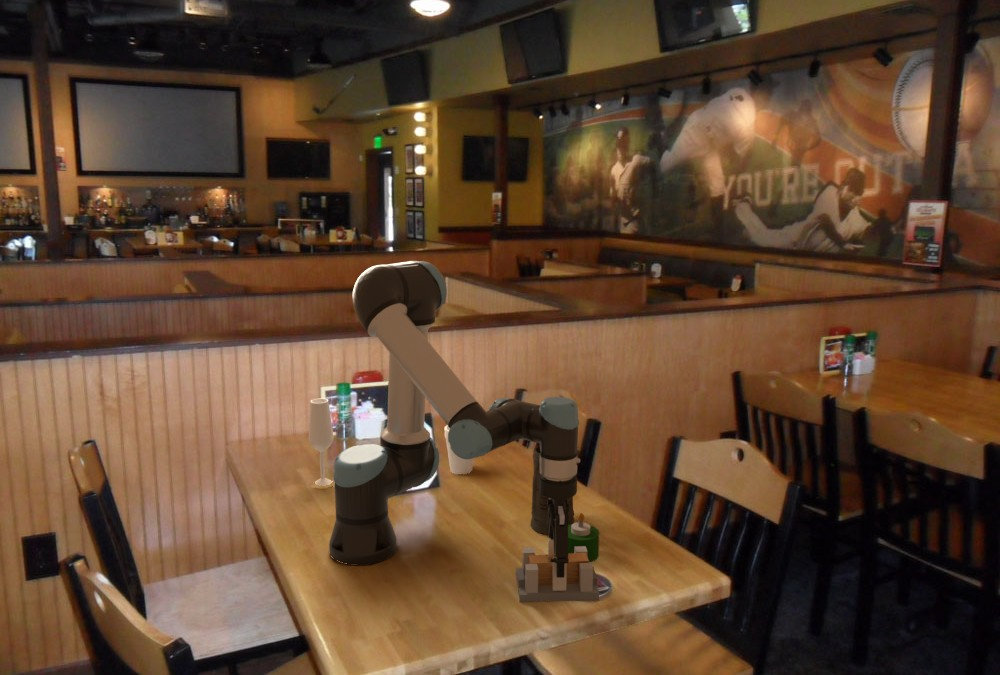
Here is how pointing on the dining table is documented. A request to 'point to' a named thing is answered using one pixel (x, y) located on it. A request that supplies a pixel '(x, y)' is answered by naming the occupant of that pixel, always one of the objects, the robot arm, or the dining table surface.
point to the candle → (584, 538)
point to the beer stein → (542, 500)
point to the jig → (533, 592)
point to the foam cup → (457, 459)
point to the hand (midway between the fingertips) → (556, 578)
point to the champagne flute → (320, 433)
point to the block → (547, 567)
